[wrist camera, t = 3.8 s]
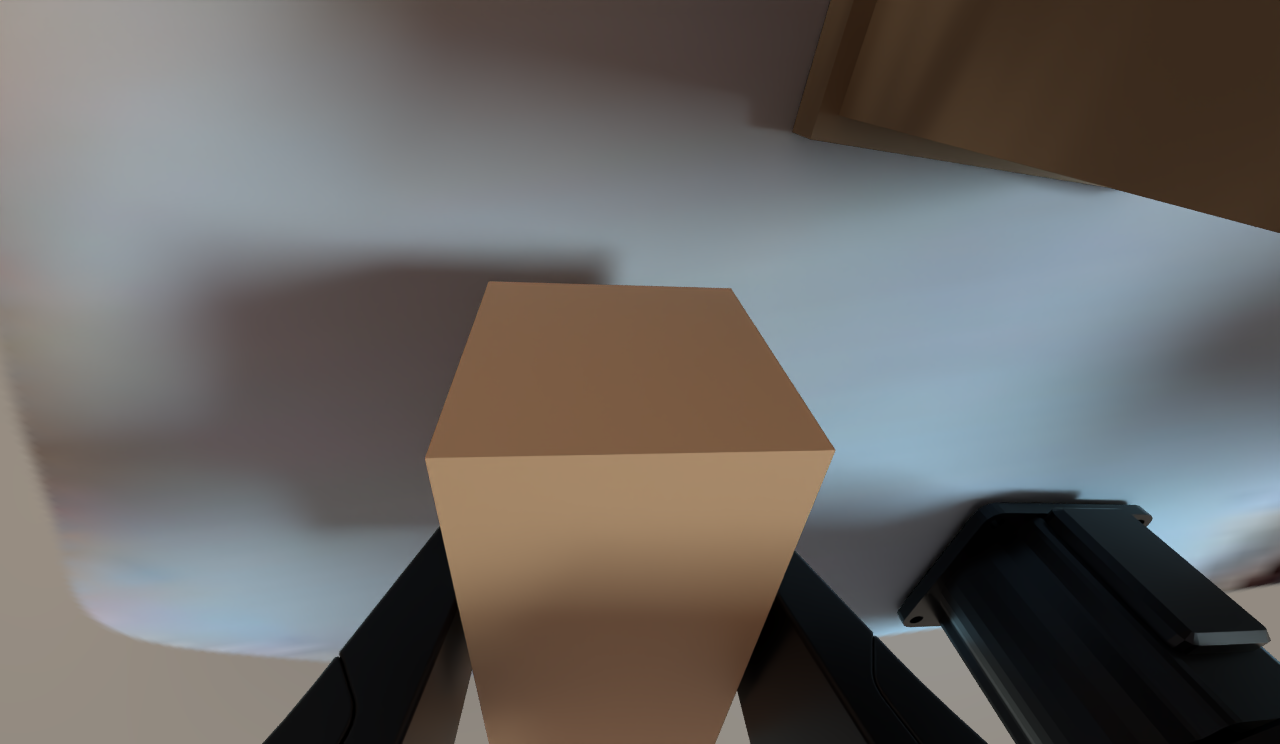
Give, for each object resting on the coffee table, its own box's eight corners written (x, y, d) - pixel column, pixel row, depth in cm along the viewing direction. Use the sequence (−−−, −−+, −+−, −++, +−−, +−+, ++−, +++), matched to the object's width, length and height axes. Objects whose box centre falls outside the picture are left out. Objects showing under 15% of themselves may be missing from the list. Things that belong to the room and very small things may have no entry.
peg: (674, 570, 13) (710, 756, 9) (517, 579, 12) (497, 778, 9) (730, 288, 8) (836, 450, 5) (489, 281, 8) (424, 458, 4)
